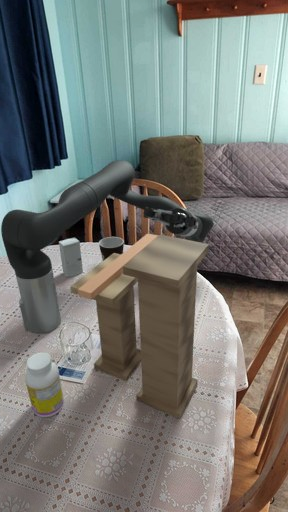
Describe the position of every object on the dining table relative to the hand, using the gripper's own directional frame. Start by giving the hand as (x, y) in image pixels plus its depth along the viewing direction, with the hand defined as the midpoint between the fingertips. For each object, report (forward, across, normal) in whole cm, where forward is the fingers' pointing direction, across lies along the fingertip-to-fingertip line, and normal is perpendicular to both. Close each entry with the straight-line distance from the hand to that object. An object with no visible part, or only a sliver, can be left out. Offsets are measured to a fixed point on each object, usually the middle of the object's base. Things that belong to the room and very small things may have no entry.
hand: (160, 214), depth 89 cm
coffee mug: (-30, +27, -19) cm, 45 cm away
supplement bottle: (+20, +6, -46) cm, 51 cm away
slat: (+13, 0, -13) cm, 19 cm away
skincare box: (-21, +37, -24) cm, 49 cm away
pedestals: (+6, -8, -38) cm, 39 cm away
